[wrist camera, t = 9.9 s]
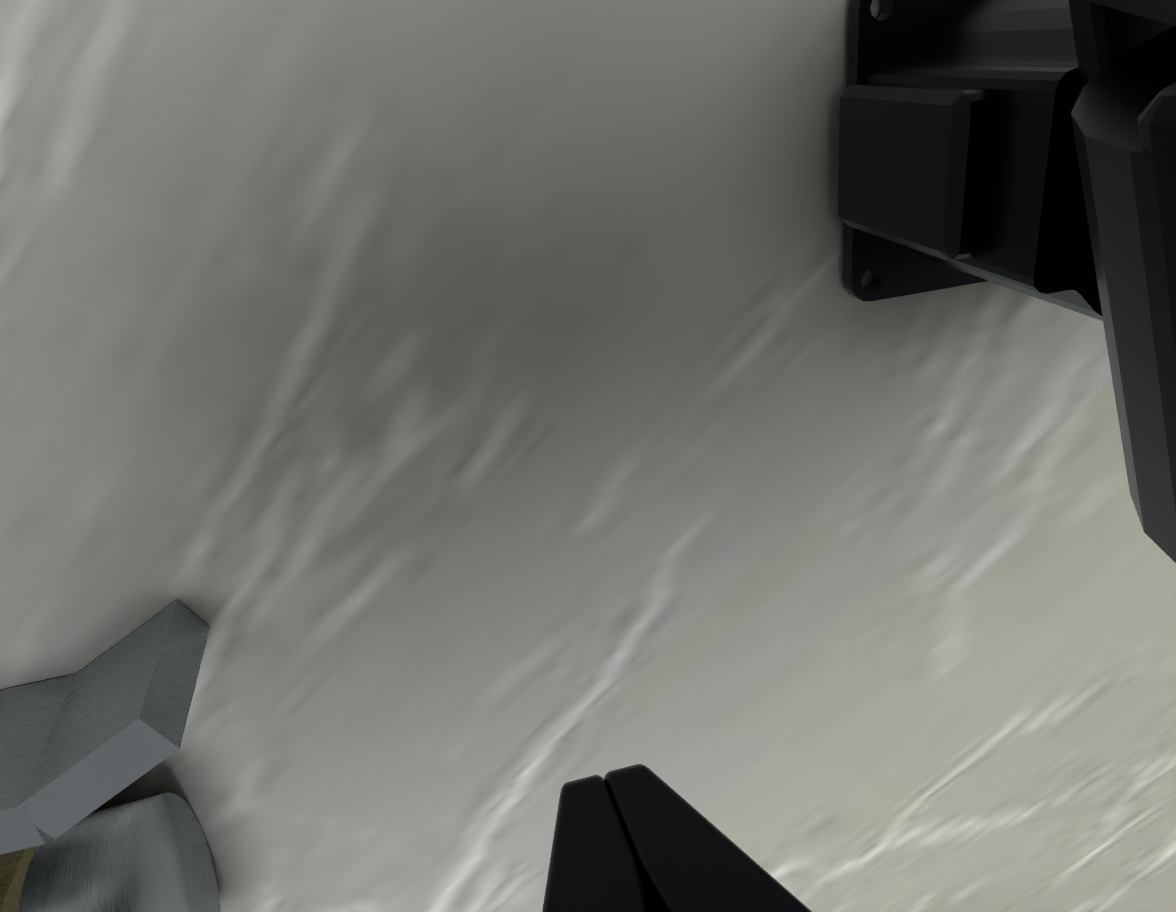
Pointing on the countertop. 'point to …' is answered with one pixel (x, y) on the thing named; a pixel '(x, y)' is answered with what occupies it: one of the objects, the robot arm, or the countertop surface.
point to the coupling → (95, 728)
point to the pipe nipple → (116, 864)
